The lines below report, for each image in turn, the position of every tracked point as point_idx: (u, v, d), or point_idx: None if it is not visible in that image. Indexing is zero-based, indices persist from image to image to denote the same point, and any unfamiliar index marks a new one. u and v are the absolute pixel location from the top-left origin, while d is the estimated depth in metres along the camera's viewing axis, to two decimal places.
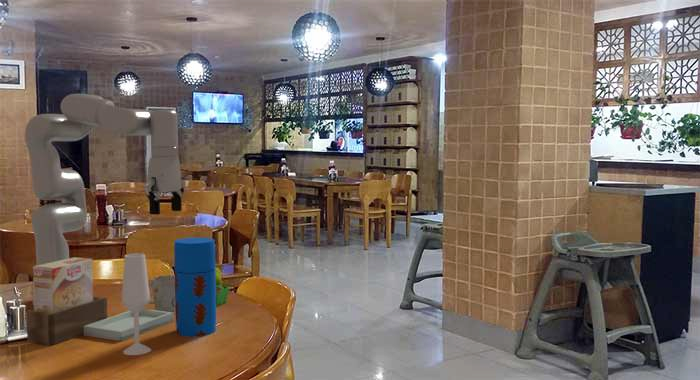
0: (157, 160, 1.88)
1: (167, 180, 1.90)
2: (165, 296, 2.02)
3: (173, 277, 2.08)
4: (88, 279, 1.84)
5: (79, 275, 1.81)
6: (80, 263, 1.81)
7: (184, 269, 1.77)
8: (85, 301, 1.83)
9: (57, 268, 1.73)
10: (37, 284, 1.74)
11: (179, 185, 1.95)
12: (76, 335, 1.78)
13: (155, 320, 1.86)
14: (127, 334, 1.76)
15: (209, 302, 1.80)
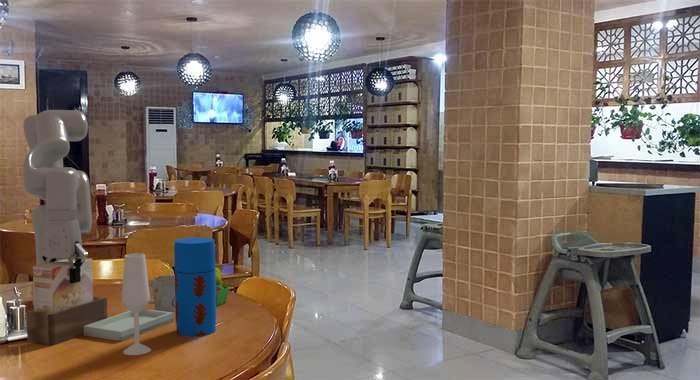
0: (77, 223, 1.78)
1: None
2: (165, 296, 2.02)
3: (173, 277, 2.08)
4: (88, 279, 1.84)
5: None
6: None
7: (184, 269, 1.77)
8: (85, 301, 1.83)
9: (57, 268, 1.73)
10: (37, 284, 1.74)
11: None
12: (76, 335, 1.78)
13: (155, 320, 1.86)
14: (127, 334, 1.76)
15: (209, 302, 1.80)
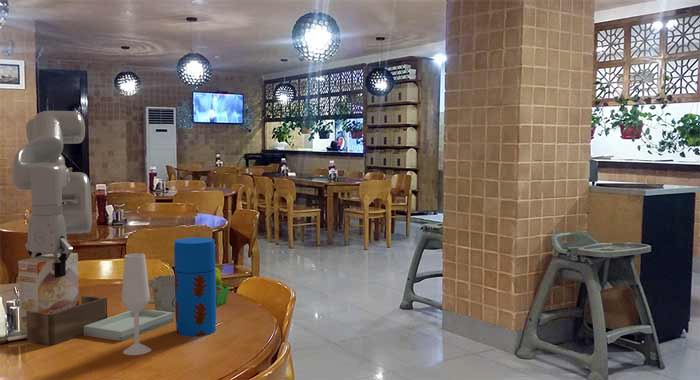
0: (62, 218, 1.80)
1: None
2: (165, 296, 2.02)
3: (173, 277, 2.08)
4: (73, 273, 1.87)
5: None
6: None
7: (184, 269, 1.77)
8: (70, 295, 1.85)
9: (42, 262, 1.76)
10: (22, 278, 1.76)
11: None
12: (76, 335, 1.78)
13: (155, 320, 1.86)
14: (127, 334, 1.76)
15: (209, 302, 1.80)
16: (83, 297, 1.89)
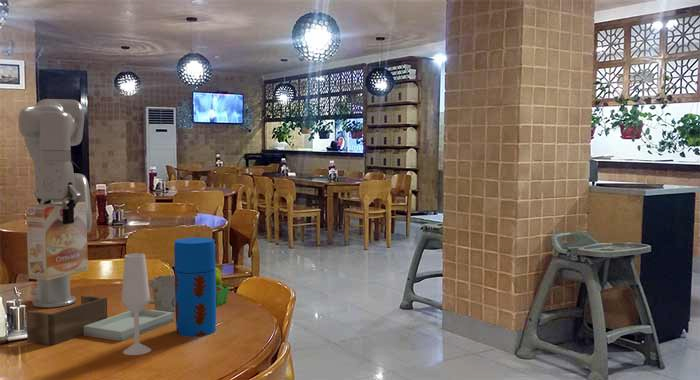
0: (70, 164, 1.80)
1: None
2: (165, 296, 2.02)
3: (173, 277, 2.08)
4: (82, 222, 1.86)
5: None
6: None
7: (184, 269, 1.77)
8: (78, 244, 1.85)
9: (50, 207, 1.75)
10: (30, 223, 1.76)
11: None
12: (76, 335, 1.78)
13: (155, 320, 1.86)
14: (127, 334, 1.76)
15: (209, 302, 1.80)
16: (83, 297, 1.89)
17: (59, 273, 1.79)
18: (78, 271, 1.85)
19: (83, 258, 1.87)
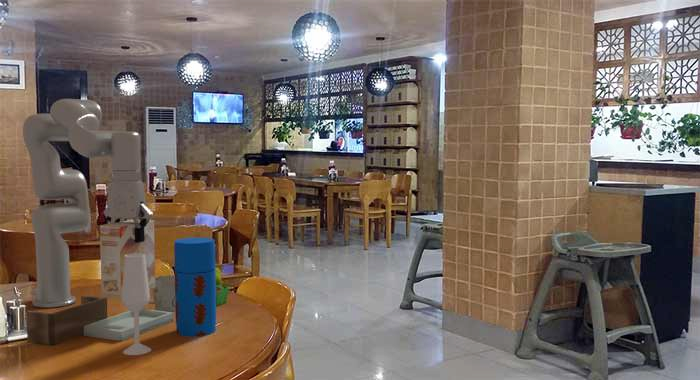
0: (141, 184, 1.82)
1: None
2: (165, 296, 2.02)
3: (173, 277, 2.08)
4: (150, 240, 1.88)
5: None
6: None
7: (184, 269, 1.77)
8: (147, 261, 1.87)
9: (124, 226, 1.77)
10: (104, 242, 1.78)
11: None
12: (76, 335, 1.78)
13: (155, 320, 1.86)
14: (127, 334, 1.76)
15: (209, 302, 1.80)
16: (83, 297, 1.89)
17: None
18: None
19: (151, 275, 1.89)
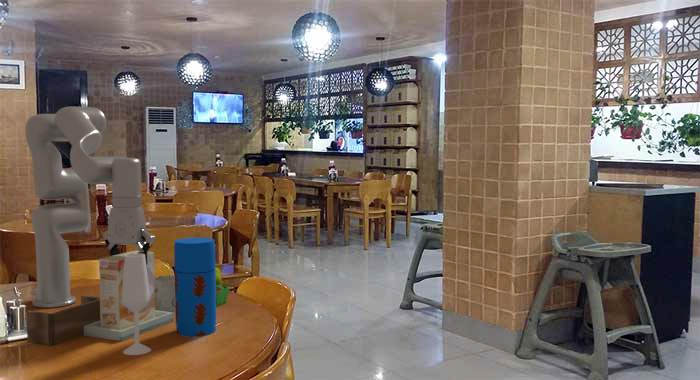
0: (142, 210, 1.83)
1: None
2: (165, 296, 2.02)
3: (173, 277, 2.08)
4: (150, 272, 1.89)
5: None
6: None
7: (184, 269, 1.77)
8: None
9: (123, 260, 1.79)
10: (103, 276, 1.79)
11: None
12: (76, 335, 1.78)
13: (155, 320, 1.86)
14: (127, 334, 1.76)
15: (209, 302, 1.80)
16: (83, 297, 1.89)
17: (130, 324, 1.82)
18: (146, 320, 1.88)
19: (151, 307, 1.90)
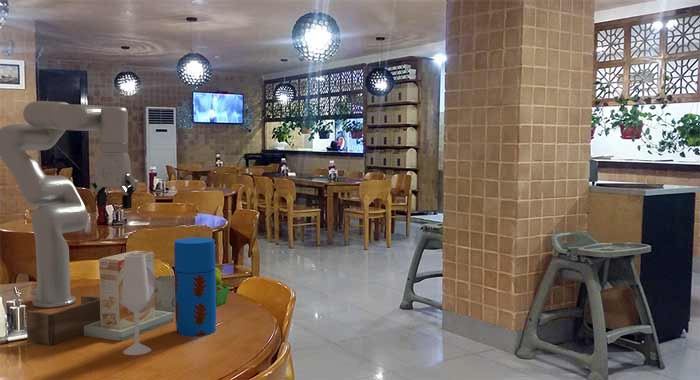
0: (127, 156, 1.95)
1: None
2: (165, 296, 2.02)
3: (173, 277, 2.08)
4: (150, 272, 1.89)
5: None
6: None
7: (184, 269, 1.77)
8: None
9: (122, 260, 1.79)
10: (103, 276, 1.79)
11: None
12: (76, 335, 1.78)
13: (155, 320, 1.86)
14: (127, 334, 1.76)
15: (209, 302, 1.80)
16: (83, 297, 1.89)
17: (130, 324, 1.82)
18: (146, 320, 1.88)
19: (151, 307, 1.90)
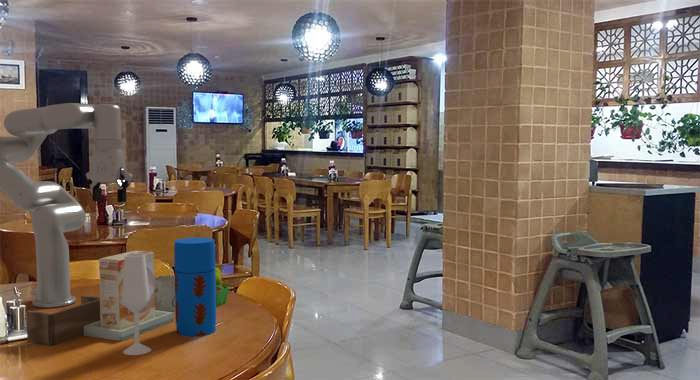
0: (121, 151, 2.02)
1: None
2: (165, 296, 2.02)
3: (173, 277, 2.08)
4: (150, 272, 1.89)
5: None
6: None
7: (184, 269, 1.77)
8: None
9: (122, 260, 1.79)
10: (103, 276, 1.79)
11: None
12: (76, 335, 1.78)
13: (155, 320, 1.86)
14: (127, 334, 1.76)
15: (209, 302, 1.80)
16: (83, 297, 1.89)
17: (130, 324, 1.82)
18: (146, 320, 1.88)
19: (151, 307, 1.90)
